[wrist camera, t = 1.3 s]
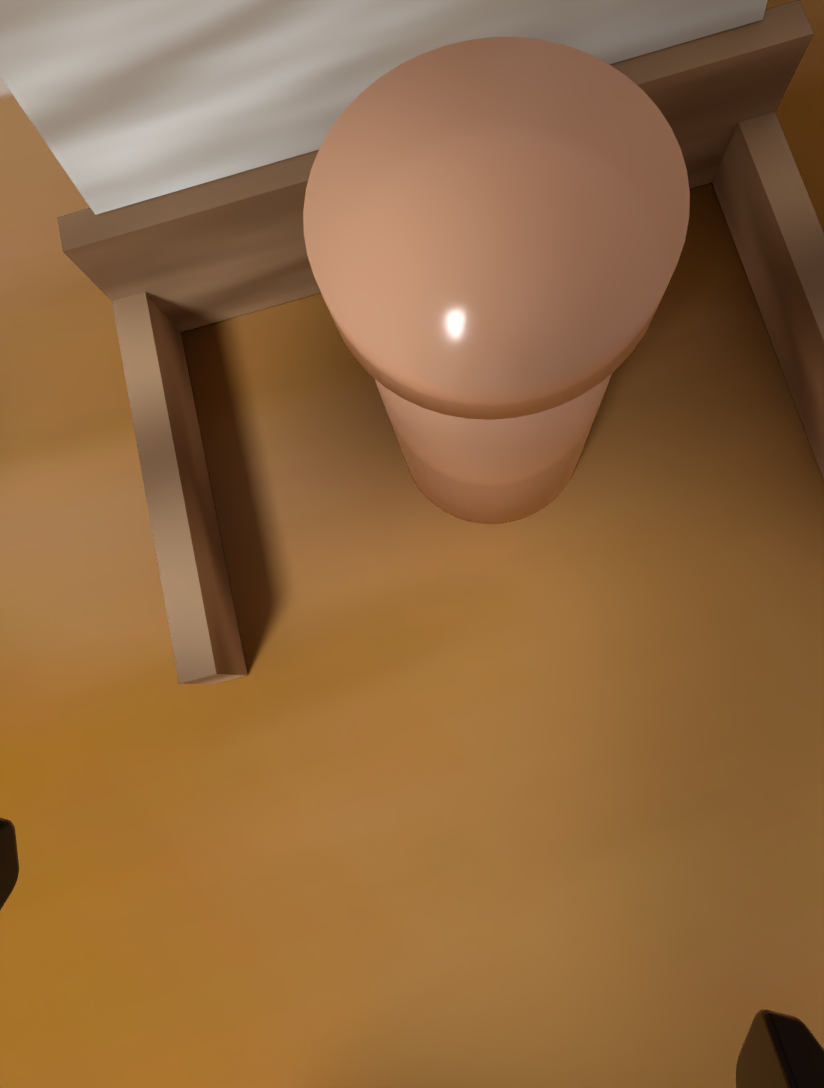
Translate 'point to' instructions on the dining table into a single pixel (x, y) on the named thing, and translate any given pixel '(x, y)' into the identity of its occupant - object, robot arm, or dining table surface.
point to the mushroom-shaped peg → (495, 256)
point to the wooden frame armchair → (284, 168)
